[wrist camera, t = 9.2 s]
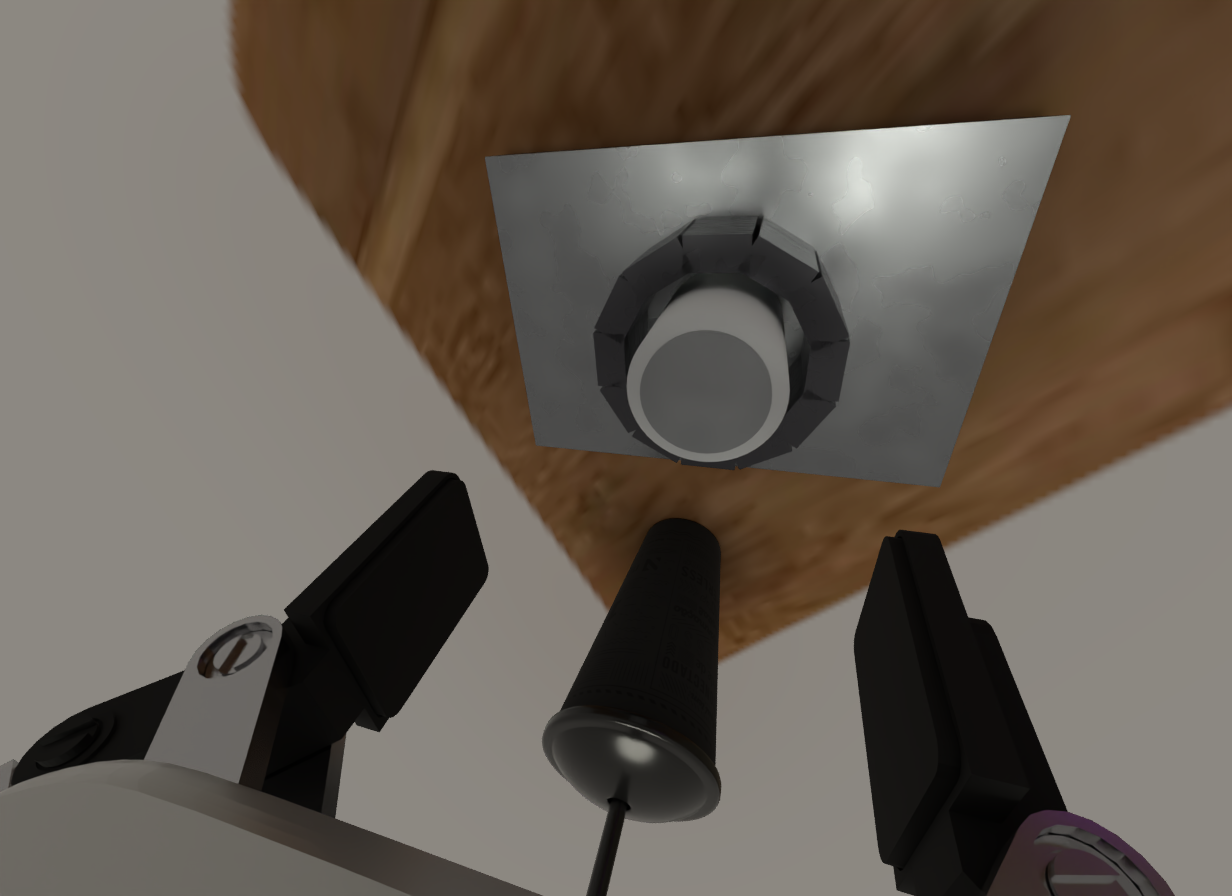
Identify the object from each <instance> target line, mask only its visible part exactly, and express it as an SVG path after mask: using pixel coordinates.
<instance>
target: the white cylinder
mask: <svg viewBox="0 0 1232 896" xmlns="http://www.w3.org/2000/svg"><path fill="white" fill-rule="evenodd" d="M789 393H790V386H789V373H788V362H787V352H786V342H785V331H784V321H783V313H782V308H781V305H780V302H779V300H778V298H777V296H776V294H775V293H774V292H773V291H771V290H769V289H768V288H766V287H764V286H763V285H761V284H759V283H758V282H756V281H755V280H753V279H751V278H750V277H748V276H746V275H745V274H743V273H697V274H696V275H694V276H692V277H691V278H689V279H688V280H687V281H686V282H684V283H683V284H682V285H681V286H680V287H679V288H678V290H677V291H676V292H675V294H674V295H673V297H672V298H671V300H670V301H669V303H668V304H667V306H666V307H665V309H664V310H663V312H662V313H661V315H660V316H659V318H658V319H657V321H656V322H655V324H654V325H653V326H652V328H651V329H650V331H649V332H648V334H647V335H646V337H645V338H644V340H643V341H642V343H641V344H640V346H639V347H638V349H637V351H636V353H635V354H634V356H633V358H632V361H631V364H630V367H629V371H628V376H627V396H628V401H629V405H630V408H631V411H632V414H633V416H634V418H635V420H636V422H637V423H638V425H639V426H640V428H641V429H642V430H643V431H644V433H645V434H646V435H647V436H648V437H649V438H650V439H651V440H652V441H653V442H655V443H656V444H657V445H659V446H660V447H661V448H663V449H665V450H666V451H668V452H670V453H672V454H674V455H677V456H679V457H682V458H686V459H689V460H694V461H701V462H719V461H725V460H730V459H734V458H738V457H740V456H743V455H745V454H747V453H749V452H751V451H753V450H755V449H756V448H758V447H759V446H760V445H762V444H763V443H764V442H765V441H766V440H768V439H769V438H770V437H771V436H772V434H773V433H774V432H775V431H776V429H777V428H778V426H779V425H780V423H781V421H782V419H783V417H784V415H785V412H786V409H787V406H788V402H789Z"/></svg>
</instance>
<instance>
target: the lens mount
mask: <svg viewBox="0 0 1232 896" xmlns="http://www.w3.org/2000/svg"><path fill="white" fill-rule="evenodd" d="M1070 116H1071V115H1062V116H1038V117H1024V118H1010V119H997V120H983V121H969V122H955V123H941V124H927V125H913V126H899V127H885V128H871V129H857V130H843V131H829V132H815V133H802V134H788V135H774V136H760V137H746V138H732V139H718V140H704V141H690V142H676V143H662V144H648V145H634V146H620V147H606V148H592V149H579V150H565V151H551V152H537V153H523V154H509V155H499V156H489V157H485V161H486V166H487V172H488V178H489V183H490V189H491V194H492V200H493V206H494V211H495V217H496V223H497V228H498V234H499V240H500V245H501V251H502V256H503V262H504V268H505V273H506V279H507V285H508V290H509V296H510V301H511V307H512V313H513V318H514V324H515V330H516V335H517V341H518V346H519V352H520V358H521V363H522V369H523V375H524V380H525V386H526V392H527V397H528V403H529V408H530V414H531V420H532V425H533V431H534V437H535V442H536V445H538V446H548V447H558V448H567V449H577V450H587V451H596V452H606V453H615V454H625V455H635V456H644V457H654V458H664V459H671V460H673V461H674V462H676V463H677V462H678V460H681V464H682V465H691V466H701V467H710V468H720V469H729V470H735V466H738V468H739V469H743V468H745V467H750V468H760V469H770V470H779V471H789V472H799V473H808V474H818V475H828V476H837V477H847V478H856V479H866V480H876V481H885V482H895V483H905V484H914V485H924V486H934V487H940V485H941V482H942V480H943V477H944V474H945V471H946V468H947V465H948V463H949V460H950V457H951V454H952V451H953V448H954V446H955V443H956V440H957V437H958V434H959V431H960V429H961V426H962V423H963V420H964V417H965V414H966V412H967V409H968V406H969V403H970V400H971V397H972V395H973V392H974V389H975V386H976V383H977V380H978V378H979V375H980V372H981V369H982V366H983V363H984V360H985V358H986V355H987V352H988V349H989V346H990V343H991V341H992V338H993V335H994V332H995V329H996V326H997V324H998V321H999V318H1000V315H1001V312H1002V309H1003V307H1004V304H1005V301H1006V298H1007V295H1008V292H1009V290H1010V287H1011V284H1012V281H1013V278H1014V275H1015V273H1016V270H1017V267H1018V264H1019V261H1020V258H1021V256H1022V253H1023V250H1024V247H1025V244H1026V241H1027V238H1028V236H1029V233H1030V230H1031V227H1032V224H1033V221H1034V219H1035V216H1036V213H1037V210H1038V207H1039V204H1040V202H1041V199H1042V196H1043V193H1044V190H1045V187H1046V185H1047V182H1048V179H1049V176H1050V173H1051V170H1052V168H1053V165H1054V162H1055V159H1056V156H1057V153H1058V151H1059V148H1060V145H1061V142H1062V139H1063V136H1064V134H1065V131H1066V128H1067V125H1068V122H1069V119H1070ZM697 273H743V274H745V275H746V276H748V277H750V278H751V279H753V280H755V281H756V282H758V283H759V284H761V285H763V286H764V287H766V288H768V289H769V290H771V291H773V292H774V293H775V294H776V296H777V298H778V300H779V302H780V305H781V308H782V313H783V321H784V331H785V342H786V352H787V362H788V373H789V386H790V393H789V402H788V406H787V409H786V412H785V415H784V417H783V419H782V421H781V423H780V425H779V426H778V428H777V429H776V431H775V432H774V433H773V434H772V436H771V437H770V438H769V439H768V440H766V441H765V442H764V443H763V444H762V445H760V446H759V447H758V448H756V449H755V450H753V451H751V452H749V453H747V454H745V455H743V456H740V457H738V458H734V459H730V460H725V461H719V462H701V461H694V460H689V459H686V458H682V457H679V456H677V455H674V454H672V453H670V452H668V451H666V450H665V449H663V448H661V447H660V446H659V445H657V444H656V443H655V442H653V441H652V440H651V439H650V438H649V437H648V436H647V435H646V434H645V433H644V431H643V430H642V429H641V428H640V426H639V425H638V423H637V422H636V420H635V418H634V416H633V414H632V411H631V408H630V405H629V401H628V396H627V376H628V371H629V367H630V364H631V361H632V358H633V356H634V354H635V353H636V351H637V349H638V347H639V346H640V344H641V343H642V341H643V340H644V338H645V337H646V335H647V334H648V332H649V331H650V329H651V328H652V326H653V325H654V324H655V322H656V321H657V319H658V318H659V316H660V315H661V313H662V312H663V310H664V309H665V307H666V306H667V304H668V303H669V301H670V300H671V298H672V297H673V295H674V294H675V292H676V291H677V290H678V288H679V287H680V286H681V285H682V284H683V283H684V282H686V281H687V280H688V279H689V278H691V277H692V276H694V275H696V274H697Z"/></svg>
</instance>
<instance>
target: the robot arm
mask: <svg viewBox="0 0 1232 896" xmlns="http://www.w3.org/2000/svg"><path fill="white" fill-rule="evenodd" d="M487 576H488V563H487V559H486V556H485V552H484V549H483V545H482V542H481V538H480V535H479V531H478V528H477V524H476V521H475V517H474V514H473V510H472V507H471V503H470V499H469V496H468V492H467V489H466V486H465V484H464V482H463V481H461V480H460V479H459V477H458V476H457V475H456V474H455V473H449V472H441V471H434V470H432V471H428V472H427V473H425V474H424V475H423V476H422V477H421V478H420V479H419V480H418V481H417V482H416V483H415V484H414V485H413V486H412V487H411V488H410V489H408V490H407V491H406V492H405V493H404V494H403V495H402V496H401V497H400V498H399V499H398V500H397V501H396V502H395V503H394V504H393V505H392V506H391V507H390V508H389V509H388V510H387V511H386V512H385V513H384V514H383V515H382V516H380V517H379V518H378V520H376V521H375V522H374V523H373V524H372V525H371V526H370V527H369V528H368V529H367V530H366V531H365V532H364V533H363V534H362V535H361V536H360V537H359V538H358V539H357V540H356V541H355V542H354V543H353V544H352V545H350V546H349V547H348V548H347V549H346V550H345V551H344V552H343V553H342V554H341V555H340V556H339V557H338V558H337V559H336V560H335V561H334V562H333V563H332V564H331V565H330V566H329V567H328V568H327V569H326V570H324V571H323V572H322V573H321V575H319V576H318V577H317V578H316V579H315V580H314V581H313V582H312V583H311V584H310V585H309V586H308V587H307V588H306V589H305V590H304V591H303V592H302V593H301V594H300V595H299V596H298V597H297V598H296V599H294V600H293V602H291V603H290V604H289V605H288V606H287V607H286V608H285V609H284V611H285V612H286V614H287V616H288V617H289V618H288V619H287V620H286V621H285V622H284V623H283V624H281V623H280V621H279V620H278V619H276V618H274V617H272V616H265V615H258V616H252V617H247V618H244V619H242V620H239V621H236V622H233V623H232V624H230V625H228V626H226V627H224V628H222V629H221V630H219V631H218V632H216V633H215V634H214V635H212V636H211V637H210V638H208V639H207V640H206V641H205V642H204V643H203V644H202V645H201V646H200V647H199V648H198V649H197V650H196V651H195V653H194V655H193V656H192V658H191V659H190V661H189V662H188V665H187V667H186V669H185V670H184V671H182V672H179V673H177V674H174V675H172V676H169V677H167V678H164V679H162V680H159V681H157V682H154V683H151V684H149V685H146V686H144V687H141V688H139V689H136V690H134V691H131V692H129V693H126V694H124V695H121V696H119V697H116V698H113V699H111V700H108V701H106V702H103V703H101V704H98V705H95V706H93V707H90V708H88V709H86V710H84V711H82V712H80V713H77V714H75V715H74V716H71V717H70V718H68V719H66V720H65V721H63V722H62V723H60V724H59V725H57V726H55V727H54V728H53V729H51V730H50V731H49V732H48V733H46V734H45V735H44V736H43V737H42V738H40V739H39V740H38V741H37V742H36V743H35V744H34V745H33V746H32V747H31V748H30V749H29V750H28V751H27V752H26V754H25V755H24V756H23V757H22V759H21V760H20V762H19V763H18V762H17V761H16V760H14V759H13V760H11V761H9V762H7V763H5V764H3V765H1V766H0V896H542V895H539V894H536V893H534V892H531V891H529V890H526V889H523V888H521V887H518V886H515V885H513V884H510V883H507V882H504V881H502V880H499V879H497V878H494V877H491V876H489V875H486V874H483V873H481V872H478V871H475V870H473V869H469V868H467V867H464V866H462V865H459V864H457V863H454V862H451V861H448V860H446V859H443V858H440V857H438V856H435V855H432V854H429V853H427V852H424V851H422V850H419V849H416V848H414V847H411V846H408V845H405V844H403V843H400V842H397V841H395V840H392V839H389V838H387V837H384V836H381V835H378V834H376V833H373V832H370V831H368V830H365V829H362V828H359V827H357V826H354V825H351V824H348V823H346V822H343V821H340V820H338V819H335V815H336V807H337V800H338V792H339V785H340V777H341V769H342V762H343V754H344V747H345V739H346V732H347V731H348V729H349V728H350V727H351V726H352V724H353V723H354V722H355V723H356V725H358V726H361V727H364V728H367V729H370V730H374V731H377V732H380V731H381V729H382V728H383V726H384V725H385V723H386V722H387V720H388V719H389V718H391V717H394V716H395V715H396V714H397V713H398V712H399V711H400V710H401V708H402V707H403V705H404V704H405V702H406V701H407V699H408V698H409V696H410V695H411V693H412V692H413V690H414V689H415V687H416V686H417V684H418V683H419V681H420V680H421V678H422V677H423V675H424V674H425V672H426V671H427V669H428V667H429V666H430V665H431V663H432V662H433V660H434V659H435V657H436V656H437V654H438V652H439V651H440V649H441V648H442V646H443V645H444V643H445V642H446V640H447V639H448V637H449V636H450V634H451V633H452V631H453V630H454V628H455V627H456V625H457V624H458V622H459V621H460V619H461V618H462V616H463V615H464V613H465V612H466V610H467V608H468V607H469V606H470V604H471V603H472V601H473V599H474V598H475V597H476V595H477V593H478V592H479V590H480V589H481V587H482V586H483V584H484V583H485V581H486V579H487ZM854 655H855V663H856V672H857V678H858V687H859V696H860V703H861V712H862V720H863V727H864V736H865V744H866V752H867V760H868V769H869V776H870V785H871V793H872V801H873V809H874V817H875V825H876V833H877V841H878V848H879V854H880V857H881V860H882V862H883V863H885V864H888V865H891V866H893V867H894V874H895V881H896V888H897V890H898V891H901V892H904V893H907V894H911V895H914V896H1175V895H1174V894H1173V892H1172V891H1171V889H1170V887H1169V886H1168V884H1167V883H1166V881H1164V879H1163V878H1162V877H1161V876H1160V875H1159V874H1158V872H1157V871H1156V870H1155V869H1154V868H1153V867H1152V866H1151V865H1150V864H1149V863H1148V862H1147V860H1146V859H1145V858H1144V857H1143V856H1142V855H1141V854H1139V853H1138V852H1137V851H1136V850H1135V849H1133V848H1132V847H1131V846H1130V845H1128V844H1127V843H1126V842H1125V841H1123V840H1122V839H1121V838H1120V837H1119V836H1117V835H1116V834H1114V833H1112V832H1110V831H1108V830H1107V829H1105V828H1104V827H1102V826H1100V825H1099V824H1097V823H1095V822H1093V821H1092V820H1089V819H1086V818H1084V817H1081V816H1078V815H1075V814H1072V813H1070V812H1068V811H1067V809H1066V806H1065V804H1064V802H1063V799H1062V796H1061V794H1060V792H1059V789H1058V787H1057V784H1056V782H1055V779H1054V777H1053V774H1052V772H1051V769H1050V767H1049V764H1048V762H1047V759H1046V757H1045V755H1044V752H1043V750H1042V747H1041V745H1040V742H1039V740H1038V737H1037V735H1036V732H1035V730H1034V727H1033V725H1032V722H1031V720H1030V718H1029V715H1028V713H1027V710H1026V708H1025V705H1024V703H1023V700H1022V698H1021V696H1020V693H1019V690H1018V688H1017V685H1016V683H1015V681H1014V678H1013V676H1012V674H1011V671H1010V668H1009V666H1008V663H1007V661H1006V658H1005V656H1004V653H1003V651H1002V648H1001V646H1000V643H999V641H998V639H997V636H996V634H995V632H994V630H993V628H992V626H991V625H990V624H989V623H987V621H984V620H980V619H974V618H968V616H967V613H966V610H965V607H964V605H963V602H962V599H961V596H960V594H959V591H958V588H957V585H956V583H955V580H954V577H953V574H952V572H951V569H950V566H949V564H948V561H947V558H946V555H945V552H944V550H943V547H942V544H941V541H940V539H939V537H938V536H937V535H936V534H929V533H922V532H914V531H906V530H898V532H897V533H896V535H895V537H888V536H886V537H885V538H884V539H883V542H882V545H881V548H880V552H879V555H878V558H877V562H876V565H875V568H874V572H873V575H872V578H871V582H870V585H869V589H868V592H867V595H866V599H865V602H864V606H863V609H862V612H861V615H860V619H859V622H858V626H857V629H856V633H855V638H854Z"/></svg>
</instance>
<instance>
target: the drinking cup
mask: <svg viewBox="0 0 1232 896" xmlns="http://www.w3.org/2000/svg"><path fill="white" fill-rule="evenodd" d="M720 559H721V551H720V546H719V543H718V541H717V540H716V538H715V537H714V535H713V534H712V533H711V532H710V531H709V530H707V529H706V528H705V527H703V526H701V525H700V524H698V523H695V522H693V521H689V520H685V519H668V520H664V521H661V522H659V523H657V524H655V525H654V526H653V527H652V528H651V529H650V530H649V531H648V533H647V535H646V537H645V539H644V541H643V543H642V545H641V547H640V549H639V551H638V553H637V555H636V557H635V559H634V561H633V563H632V565H631V568H630V570H629V572H628V574H627V576H626V578H625V580H624V582H623V584H622V586H621V588H620V590H619V592H618V594H617V596H616V598H615V600H614V602H613V604H612V606H611V608H610V610H609V612H608V614H607V616H606V619H605V620H604V623H603V625H602V627H601V629H600V631H599V633H598V635H597V637H596V639H595V641H594V643H593V645H592V647H591V649H590V651H589V653H588V655H587V657H586V659H585V661H584V663H583V666H582V667H581V669H580V671H579V673H578V676H577V678H576V680H575V682H574V684H573V686H572V688H571V690H570V692H569V694H568V696H567V698H566V700H565V702H564V704H563V706H562V708H561V710H560V712H558V713H556V714H555V715H554V716H553V717H552V718H551V719H550V720H549V721H548V724H547V725H546V727H545V730H544V733H543V737H542V744H543V750H544V753H545V755H546V757H547V758H548V760H549V762H550V763H551V765H552V766H553V767H554V768H555V769H556V771H557V772H558V773H559V774H560V775H562V777H564V778H565V779H566V780H567V781H568V782H569V783H570V784H571V785H572V786H573V787H574V788H575V789H576V790H577V791H578V792H579V793H580V794H581V795H582V796H584V797H585V798H586V799H588V800H589V801H590V802H592V803H593V804H595V805H597V806H598V807H600V808H602V809H603V810H605V811H607V812H608V814H607V818H606V822H605V826H604V830H603V833H602V837H601V841H600V845H599V849H598V853H597V857H596V860H595V864H594V868H593V872H592V876H591V880H590V883H589V887H588V891H587V895H586V896H606V895H607V891H608V887H609V883H610V878H611V874H612V870H613V866H614V861H615V857H616V853H617V849H618V844H619V840H620V836H621V831H622V827H623V823H624V819H629V820H634V821H639V822H646V823H664V822H672V821H690V820H695V819H699V818H702V817H705V816H706V815H708V814H710V813H711V812H712V811H713V810H714V809H715V808H716V806H717V805H718V803H719V801H720V795H721V780H720V776H719V773H718V770H717V768H716V767H715V757H716V718H717V679H718V639H719V599H720Z"/></svg>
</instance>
